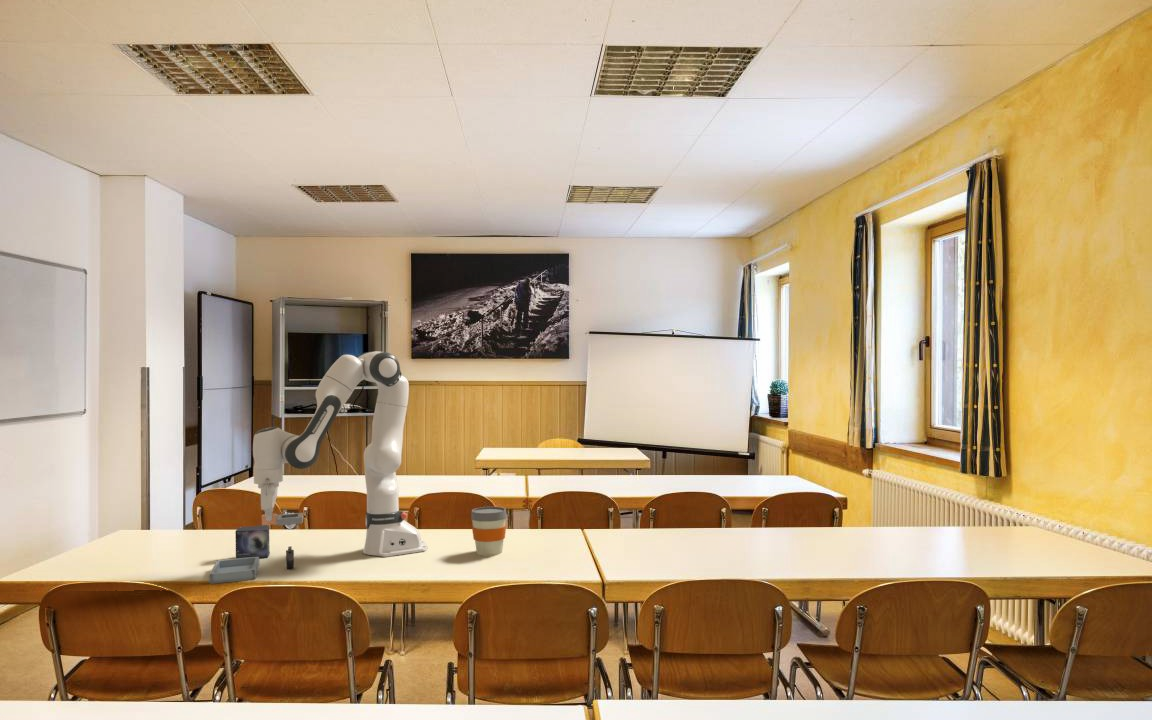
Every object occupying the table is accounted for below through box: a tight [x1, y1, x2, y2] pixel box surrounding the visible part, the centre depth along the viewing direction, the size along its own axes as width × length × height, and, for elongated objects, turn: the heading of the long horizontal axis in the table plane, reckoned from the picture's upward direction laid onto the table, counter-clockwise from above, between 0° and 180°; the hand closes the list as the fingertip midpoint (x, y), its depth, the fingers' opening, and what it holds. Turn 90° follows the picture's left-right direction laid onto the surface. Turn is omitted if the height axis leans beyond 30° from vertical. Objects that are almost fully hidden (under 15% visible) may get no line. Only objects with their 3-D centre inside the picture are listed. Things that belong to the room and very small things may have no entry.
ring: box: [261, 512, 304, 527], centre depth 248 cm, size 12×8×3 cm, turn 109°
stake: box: [285, 546, 295, 571], centre depth 248 cm, size 2×3×7 cm
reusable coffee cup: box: [470, 506, 508, 557], centre depth 265 cm, size 13×13×15 cm
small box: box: [234, 525, 271, 560], centre depth 264 cm, size 11×6×10 cm, turn 105°
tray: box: [209, 557, 260, 585], centre depth 243 cm, size 13×18×3 cm
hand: (269, 519), depth 246 cm, fingers closed on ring, 3 cm apart
